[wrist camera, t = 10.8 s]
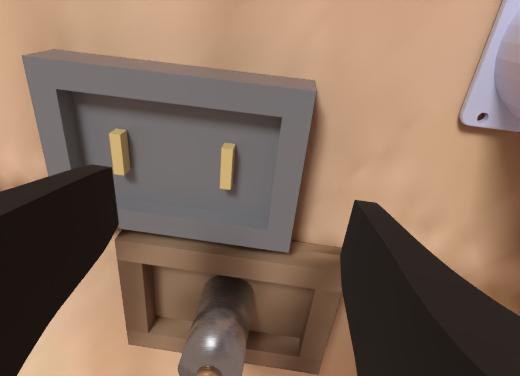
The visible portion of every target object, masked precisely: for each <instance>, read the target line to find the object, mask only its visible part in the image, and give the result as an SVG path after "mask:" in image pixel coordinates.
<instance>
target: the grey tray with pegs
mask: <svg viewBox="0 0 520 376" xmlns="http://www.w3.org/2000/svg"><path fill="white" fill-rule="evenodd" d="M22 59H23V64H24V68H25V73H26V77H27V82H28V86H29V91H30V95H31V100H32V104H33V108H34V113H35V117H36V122H37V126H38V131H39V135H40V140H41V144H42V149H43V153H44V158H45V162H46V167H47V171H48V175H49V176H52V175H55V174H58V173H61V172H65V171H68V170H71V169H75V168H78V167H82V166H87V165H92V164H93V165H100V166H107V167H112V171H113V179H114V187H115V195H116V204H117V212H118V220H119V225H118V227H117V228H119V229H126V230H133V231H140V232H147V233H154V234H161V235H168V236H175V237H182V238H189V239H196V240H203V241H209V242H216V243H223V244H230V245H237V246H244V247H251V248H258V249H265V250H272V251H279V252H286V253H289V248H290V242H291V236H292V230H293V225H294V219H295V213H296V207H297V201H298V196H299V190H300V184H301V178H302V172H303V167H304V161H305V155H306V149H307V143H308V138H309V132H310V126H311V120H312V114H313V109H314V103H315V97H316V85H315V81H313V80H305V79H296V78H288V77H280V76H271V75H263V74H255V73H246V72H238V71H229V70H221V69H213V68H204V67H196V66H188V65H179V64H171V63H163V62H154V61H146V60H137V59H129V58H121V57H112V56H104V55H96V54H87V53H79V52H71V51H62V50H54V49H53V50H48V51H43V52H38V53H32V54H27V55H22Z"/></svg>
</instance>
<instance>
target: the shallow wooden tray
mask: <svg viewBox="0 0 520 376" xmlns="http://www.w3.org/2000/svg"><path fill="white" fill-rule="evenodd" d="M115 247H116V254H117V261H118V269H119V276H120V284H121V291H122V299H123V306H124V314H125V321H126V329H127V336H128V344H129V345H136V346H142V347H148V348H154V349H161V350H167V351H173V352H179V353H183V350H184V347H185V344H186V341H187V338H188V335H189V332H190V329H191V326H192V323H193V320H194V317H195V314H196V311H197V308H198V305H199V301H200V298H201V295H202V292H203V289H204V286H205V284H206V283H207V281H208V280H209V279H211V278H212V277H214V276H217V275H223V276H230V277H237V278H241V279H243V280H245V281H246V282H247V283H248V284H249V285H250V286H251V287H252V289H253V292H254V300H253V307H252V314H251V320H250V327H249V333H248V340H247V346H246V353H245V359H244V363H248V364H255V365H261V366H267V367H273V368H280V369H286V370H292V371H298V372H305V373H311V374H317V375H318V373H319V369H320V366H321V362H322V359H323V355H324V352H325V348H326V345H327V341H328V338H329V334H330V331H331V327H332V324H333V320H334V317H335V313H336V310H337V306H338V303H339V299H340V296H341V292H342V286H341V268H340V254H341V250H342V248H338V247H331V246H324V245H317V244H310V243H303V242H296V241H291V242H290V248H289V253H286V252H279V251H272V250H265V249H258V248H251V247H244V246H237V245H230V244H223V243H216V242H209V241H203V240H196V239H189V238H182V237H175V236H168V235H161V234H154V233H147V232H140V231H133V230H126V229H123V230H122V231H121V232H120V233H119V235H118V236H117V237H116V238H115Z"/></svg>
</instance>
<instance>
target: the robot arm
mask: <svg viewBox="0 0 520 376" xmlns="http://www.w3.org/2000/svg"><path fill="white" fill-rule="evenodd" d="M481 113H485V116H484V118H483V119H481V120H478V121H477V117H478V116H479V114H481ZM459 119H460V121H461V122H462V123H463V124H465V125H467V126H474V127H482V128H490V129H498V130H506V131H514V132H520V0H503V1H502V4H501V7H500V9H499V12H498V14H497V17H496V20H495V22H494V25H493V27H492V30H491V33H490V35H489V38H488V41H487V43H486V46H485V48H484V51H483V54H482V56H481V59H480V61H479V64H478V67H477V69H476V72H475V75H474V77H473V80H472V82H471V85H470V88H469V90H468V93H467V96H466V98H465V101H464V103H463V106H462V109H461V111H460V114H459ZM118 225H119V220H118V212H117V204H116V195H115V187H114V179H113V171H112V167H107V166H100V165H93V164H92V165H87V166H82V167H78V168H75V169H71V170H68V171H65V172H61V173H58V174H55V175H52V176H49V177H46V178H43V179H40V180H36V181H33V182H30V183H27V184H24V185H21V186H18V187H15V188H11V189H8V190H4V191H1V192H0V376H17V374H18V373H19V371H20V369H21V368H22V366H23V364H24V362H25V361H26V359H27V357H28V356H29V354H30V353H31V351H32V349H33V348H34V346H35V345H36V343H37V341H38V340H39V338H40V337H41V335H42V333H43V332H44V330H45V329H46V327H47V325H48V324H49V323H50V321H51V320H52V318H53V317H54V316H55V314H56V313H57V311H58V310H59V309H60V307H61V306H62V305H63V304H64V302H65V301H66V300H67V298H68V297H69V296H70V295H71V293H72V292H73V291H74V289H75V288H76V287H77V286H78V284H79V283H80V282H81V280H82V279H83V278H84V277H85V275H86V274H87V273H88V271H89V270H90V269H91V268H92V266H93V265H94V264H95V262H96V261H97V260H98V258H99V257H100V256H101V254H102V253H103V252H104V250H105V248H106V247H107V245H108V243H109V242H110V240H111V238H112V236H113V234H114V232H115V231H116V229H117V227H118ZM340 268H341V286H342V292H343V297H344V303H345V308H346V313H347V319H348V324H349V329H350V334H351V340H352V345H353V350H354V355H355V362H356V369H357V376H520V316H518V315H517V314H515V313H514V312H512V311H510V310H509V309H507V308H506V307H504V306H502V305H501V304H499V303H498V302H496V301H495V300H493V299H492V298H490V297H489V296H487V295H486V294H485V293H483V292H482V291H480V290H479V289H477V288H476V287H475V286H473V285H472V284H470V283H469V282H468V281H466V280H465V279H463V278H462V277H461V276H459V275H458V274H457V273H455V272H454V271H453V270H452V269H450V268H449V267H448V266H447V265H446V264H444V263H443V262H442V261H441V260H439V259H438V258H437V257H436V256H435V255H433V254H432V253H431V252H430V251H429V250H428V249H426V248H425V247H424V246H423V245H422V244H421V243H420V242H418V241H417V240H416V239H415V238H414V237H413V236H412V235H411V234H410V233H409V232H408V231H407V230H405V229H404V228H403V227H402V226H401V225H400V224H399V223H398V222H397V221H396V220H395V219H394V218H393V217H392V216H391V215H390V214H389V213H387V212H386V211H385V210H384V209H383V208H382V207H381V206H380V205H378V204H377V203H374V202H366V201H359V200H355V201H354V205H353V209H352V212H351V216H350V220H349V224H348V227H347V231H346V235H345V239H344V242H343V246H342V250H341V254H340Z"/></svg>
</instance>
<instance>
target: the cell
mask: <svg viewBox="0 0 520 376" xmlns="http://www.w3.org/2000/svg"><path fill="white" fill-rule="evenodd" d="M253 300H254V292H253V289H252V287H251V286H250V285H249V284H248V283H247V282H246V281H245V280H243V279H241V278H237V277H230V276H223V275H217V276H214V277H212V278H211V279H209V280H208V281H207V283H206V284H205V286H204V289H203V292H202V295H201V298H200V301H199V305H198V308H197V311H196V314H195V317H194V320H193V323H192V326H191V329H190V332H189V335H188V338H187V341H186V344H185V347H184V350H183V353H182V356H181V359H180V362H179V365H178V372H179V375H180V376H242V372H243V366H244V359H245V353H246V346H247V340H248V333H249V327H250V320H251V314H252V307H253Z"/></svg>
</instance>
